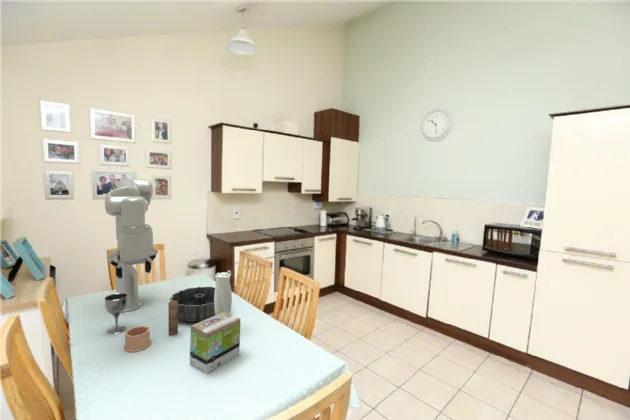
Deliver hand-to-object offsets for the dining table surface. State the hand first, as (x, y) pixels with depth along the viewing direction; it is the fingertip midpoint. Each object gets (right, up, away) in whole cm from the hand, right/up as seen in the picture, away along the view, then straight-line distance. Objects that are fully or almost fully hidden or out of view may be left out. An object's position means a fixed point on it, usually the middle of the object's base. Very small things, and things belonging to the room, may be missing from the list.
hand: (134, 274), depth 112 cm
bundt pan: (+12, -27, +33) cm, 45 cm away
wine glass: (-17, -28, +15) cm, 36 cm away
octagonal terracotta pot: (-1, -29, +4) cm, 29 cm away
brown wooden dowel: (+8, -28, +14) cm, 33 cm away
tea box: (+32, -31, -3) cm, 45 cm away
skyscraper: (+29, -29, +16) cm, 44 cm away
